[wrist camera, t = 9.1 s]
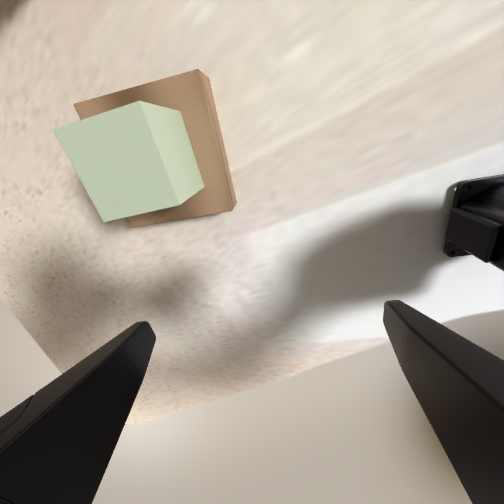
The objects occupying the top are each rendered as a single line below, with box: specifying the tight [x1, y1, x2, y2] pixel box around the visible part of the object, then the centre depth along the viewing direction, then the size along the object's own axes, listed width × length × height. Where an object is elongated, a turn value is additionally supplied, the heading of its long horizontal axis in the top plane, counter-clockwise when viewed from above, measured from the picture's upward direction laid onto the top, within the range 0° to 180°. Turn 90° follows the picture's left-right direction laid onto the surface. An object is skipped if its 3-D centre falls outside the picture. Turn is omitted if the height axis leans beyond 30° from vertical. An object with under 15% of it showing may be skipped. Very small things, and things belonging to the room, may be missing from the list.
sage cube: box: [53, 101, 205, 222], centre depth 14 cm, size 5×5×5 cm
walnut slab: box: [74, 69, 237, 227], centre depth 18 cm, size 9×9×3 cm
